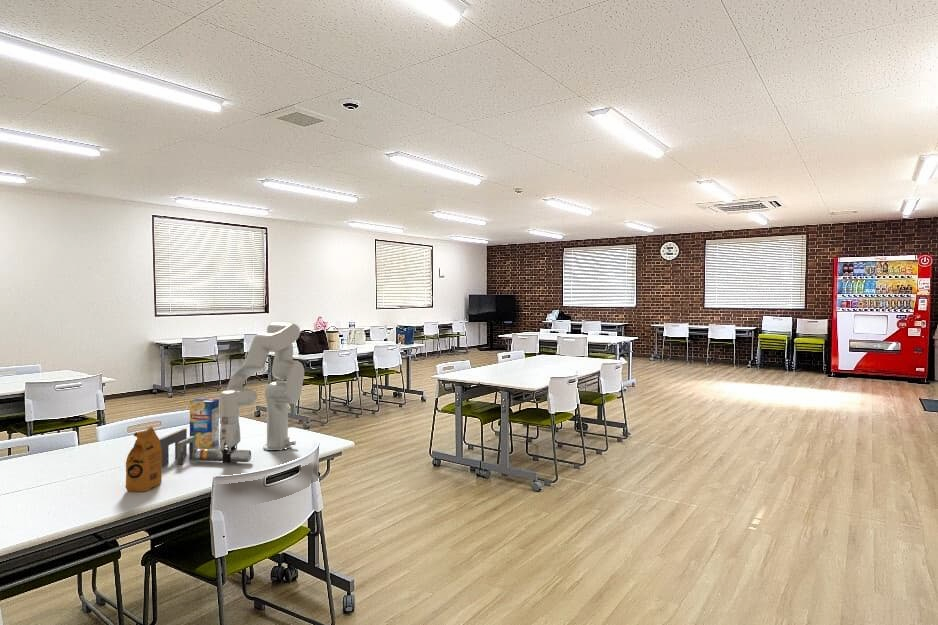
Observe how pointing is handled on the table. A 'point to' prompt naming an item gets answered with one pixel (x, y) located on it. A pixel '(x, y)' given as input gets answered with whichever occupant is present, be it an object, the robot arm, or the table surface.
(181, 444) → the collar
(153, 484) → the coffee package
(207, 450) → the steel tube
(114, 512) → the table surface
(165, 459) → the plate
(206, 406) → the blue food box
